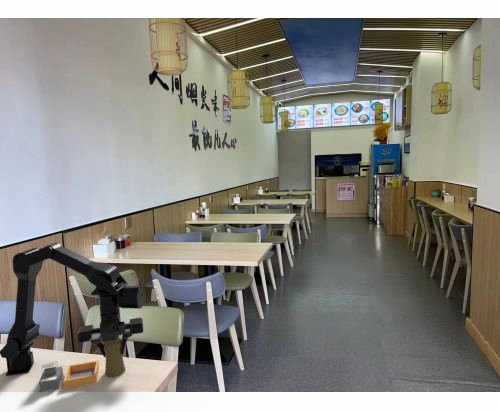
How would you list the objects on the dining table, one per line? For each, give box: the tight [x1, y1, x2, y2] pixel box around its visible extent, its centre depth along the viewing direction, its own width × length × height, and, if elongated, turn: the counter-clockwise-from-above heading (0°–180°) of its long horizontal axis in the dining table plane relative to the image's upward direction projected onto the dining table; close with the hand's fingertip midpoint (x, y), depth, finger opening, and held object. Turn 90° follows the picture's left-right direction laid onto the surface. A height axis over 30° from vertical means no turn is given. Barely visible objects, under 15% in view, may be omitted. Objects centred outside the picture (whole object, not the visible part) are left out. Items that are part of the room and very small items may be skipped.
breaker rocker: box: [41, 361, 59, 369], centre depth 114 cm, size 3×6×1 cm, turn 16°
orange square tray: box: [63, 360, 100, 390], centre depth 117 cm, size 9×9×2 cm
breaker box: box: [38, 366, 64, 393], centre depth 114 cm, size 5×7×5 cm
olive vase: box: [104, 337, 126, 379], centre depth 119 cm, size 6×6×11 cm
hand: (113, 355), depth 119 cm, fingers closed on olive vase, 5 cm apart
